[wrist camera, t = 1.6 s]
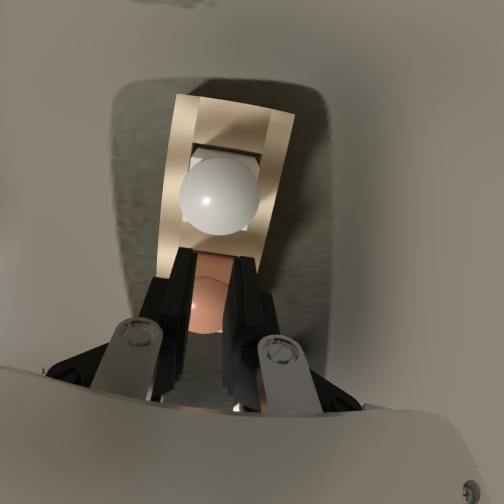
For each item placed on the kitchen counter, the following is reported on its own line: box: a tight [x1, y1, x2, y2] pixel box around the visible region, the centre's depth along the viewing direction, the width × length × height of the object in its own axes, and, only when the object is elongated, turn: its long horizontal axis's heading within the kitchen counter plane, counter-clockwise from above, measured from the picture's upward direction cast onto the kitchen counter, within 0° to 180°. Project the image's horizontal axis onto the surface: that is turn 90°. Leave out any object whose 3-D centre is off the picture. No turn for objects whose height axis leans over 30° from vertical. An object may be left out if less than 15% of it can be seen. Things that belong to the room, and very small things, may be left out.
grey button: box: [179, 148, 260, 235], centre depth 24 cm, size 6×6×6 cm
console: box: [156, 94, 295, 332], centre depth 30 cm, size 24×10×5 cm, turn 169°
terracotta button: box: [188, 250, 234, 334], centre depth 28 cm, size 6×6×6 cm
